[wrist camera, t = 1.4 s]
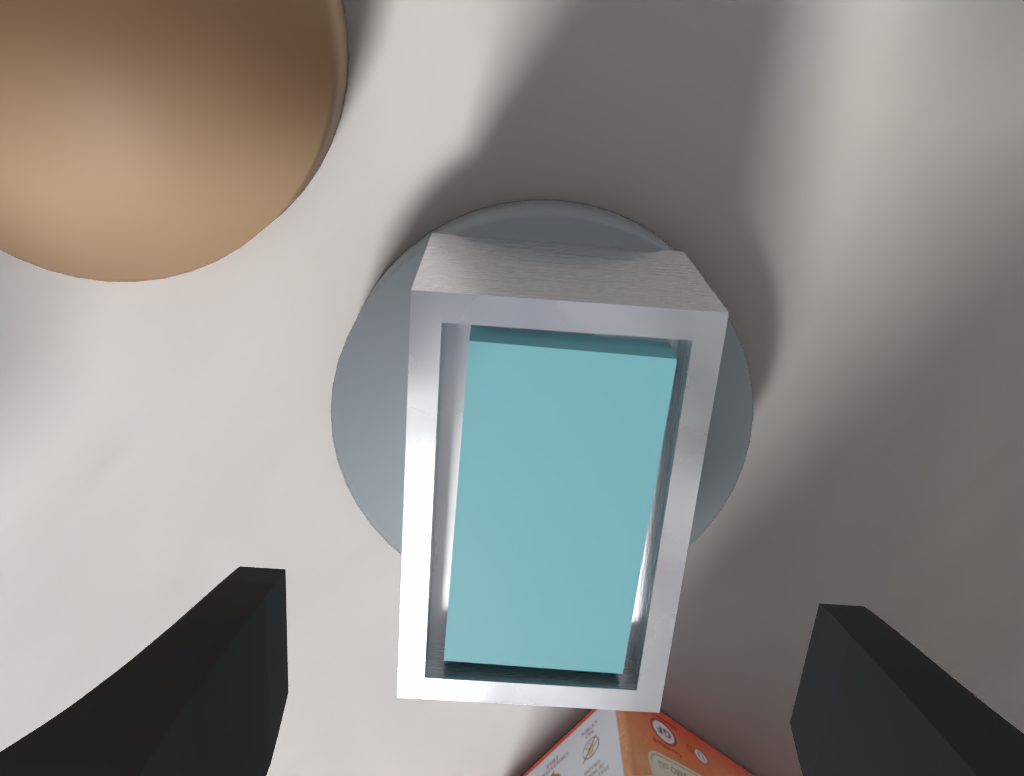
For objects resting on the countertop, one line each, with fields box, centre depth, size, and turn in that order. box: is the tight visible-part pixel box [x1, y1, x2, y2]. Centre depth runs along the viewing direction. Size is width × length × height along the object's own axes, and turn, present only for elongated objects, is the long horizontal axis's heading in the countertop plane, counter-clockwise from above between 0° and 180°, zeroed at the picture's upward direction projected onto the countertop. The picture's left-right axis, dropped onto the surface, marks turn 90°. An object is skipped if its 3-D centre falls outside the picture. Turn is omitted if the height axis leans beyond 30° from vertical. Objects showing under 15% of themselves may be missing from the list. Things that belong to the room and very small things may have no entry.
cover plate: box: [444, 325, 677, 674], centre depth 16 cm, size 6×3×1 cm, turn 175°
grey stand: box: [331, 200, 753, 555], centre depth 20 cm, size 9×9×2 cm
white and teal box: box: [397, 233, 729, 713], centre depth 18 cm, size 8×5×4 cm, turn 176°
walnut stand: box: [0, 0, 348, 282], centre depth 17 cm, size 9×9×2 cm
